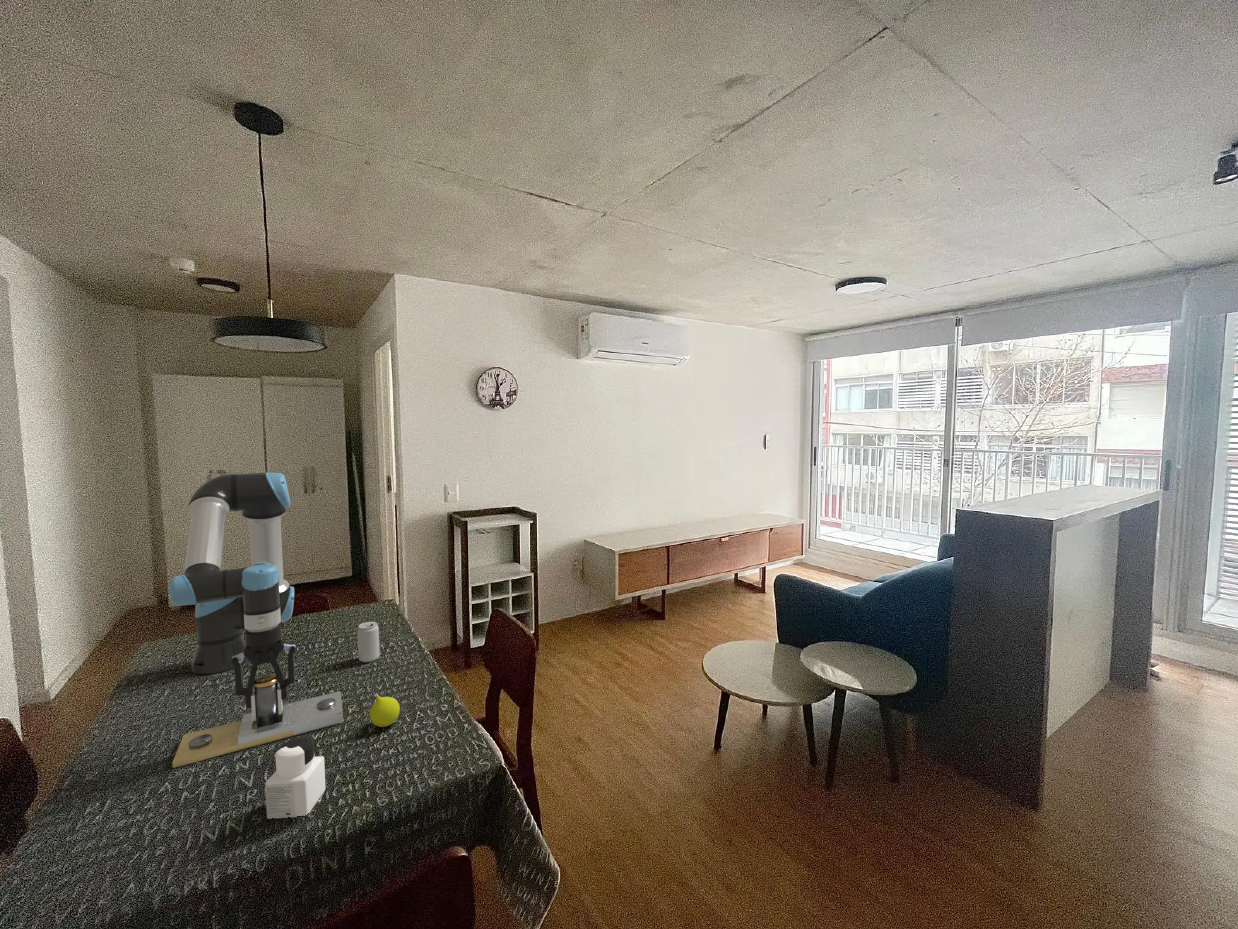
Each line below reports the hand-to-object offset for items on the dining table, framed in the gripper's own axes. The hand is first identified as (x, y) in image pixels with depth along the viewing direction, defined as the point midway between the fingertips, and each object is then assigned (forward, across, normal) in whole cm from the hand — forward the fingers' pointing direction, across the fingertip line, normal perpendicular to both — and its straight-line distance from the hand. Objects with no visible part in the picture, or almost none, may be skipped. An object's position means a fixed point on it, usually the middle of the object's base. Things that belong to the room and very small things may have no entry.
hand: (267, 714), depth 128 cm
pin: (+3, 0, 0) cm, 3 cm away
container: (+4, +7, -34) cm, 35 cm away
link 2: (+4, +6, 0) cm, 7 cm away
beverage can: (+4, +26, +31) cm, 41 cm away
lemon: (+4, +26, -13) cm, 29 cm away
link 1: (+4, -6, 0) cm, 7 cm away
